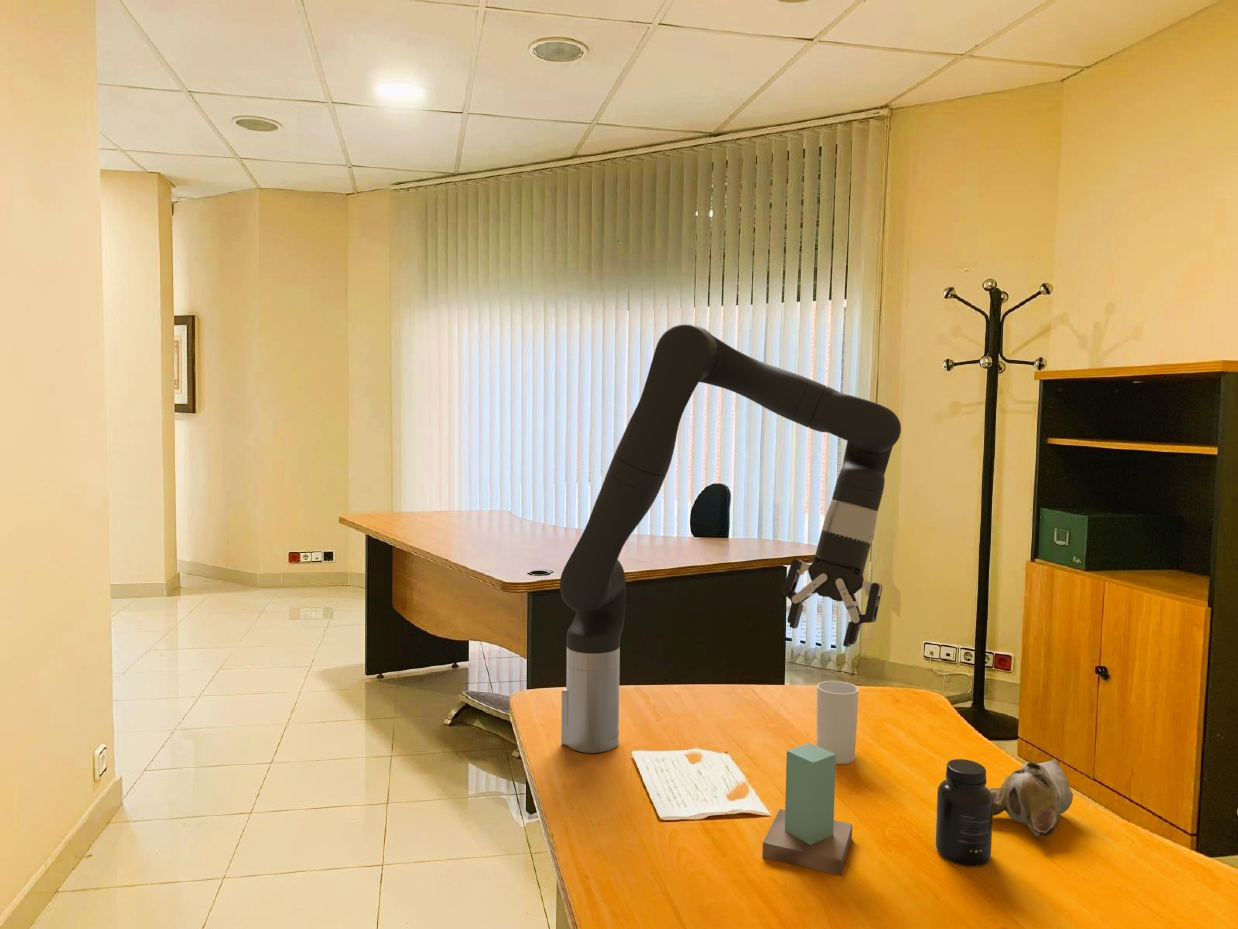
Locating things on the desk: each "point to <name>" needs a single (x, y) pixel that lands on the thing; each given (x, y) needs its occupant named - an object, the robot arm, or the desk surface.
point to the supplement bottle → (964, 814)
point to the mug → (837, 719)
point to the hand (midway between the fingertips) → (819, 636)
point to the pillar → (810, 793)
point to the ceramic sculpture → (1034, 796)
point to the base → (808, 847)
